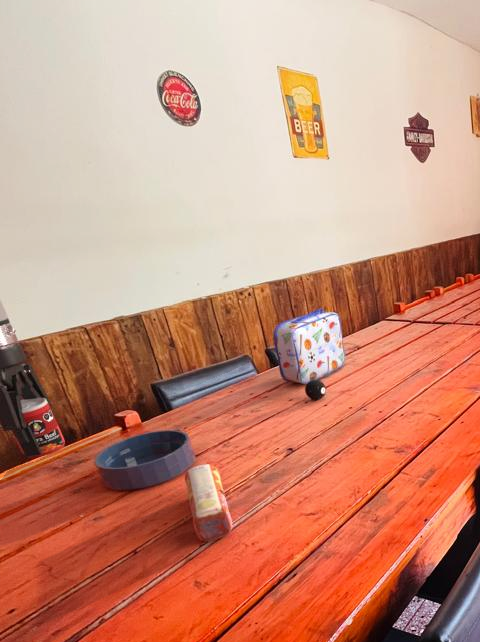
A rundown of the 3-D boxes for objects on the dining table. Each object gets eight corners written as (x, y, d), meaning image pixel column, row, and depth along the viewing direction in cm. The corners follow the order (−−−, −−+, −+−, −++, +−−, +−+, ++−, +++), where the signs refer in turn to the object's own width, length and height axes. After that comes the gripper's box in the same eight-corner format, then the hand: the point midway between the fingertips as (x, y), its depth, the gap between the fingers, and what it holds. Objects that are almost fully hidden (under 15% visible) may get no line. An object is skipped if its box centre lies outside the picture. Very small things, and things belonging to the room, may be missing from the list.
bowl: (83, 489, 116) (73, 466, 113) (149, 449, 133) (141, 428, 130) (155, 495, 112) (145, 471, 109) (213, 453, 129) (206, 431, 126)
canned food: (27, 461, 109) (4, 414, 104) (20, 450, 114) (-3, 405, 109) (70, 448, 114) (50, 403, 109) (61, 438, 119) (41, 394, 114)
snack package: (236, 534, 97) (227, 504, 94) (198, 547, 94) (187, 517, 91) (223, 485, 114) (215, 459, 111) (190, 495, 111) (181, 468, 108)
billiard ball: (315, 394, 162) (311, 376, 159) (331, 396, 160) (327, 378, 157) (303, 401, 157) (299, 383, 154) (319, 403, 155) (315, 384, 152)
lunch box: (329, 361, 192) (318, 302, 182) (352, 363, 189) (342, 303, 179) (279, 387, 169) (263, 321, 160) (305, 390, 166) (290, 323, 156)
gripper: (-10, 359, 95) (41, 464, 105) (40, 331, 113) (80, 424, 123) (-59, 364, 93) (-2, 471, 103) (0, 335, 111) (44, 429, 121)
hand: (43, 445), depth 113 cm, fingers closed on canned food, 8 cm apart
